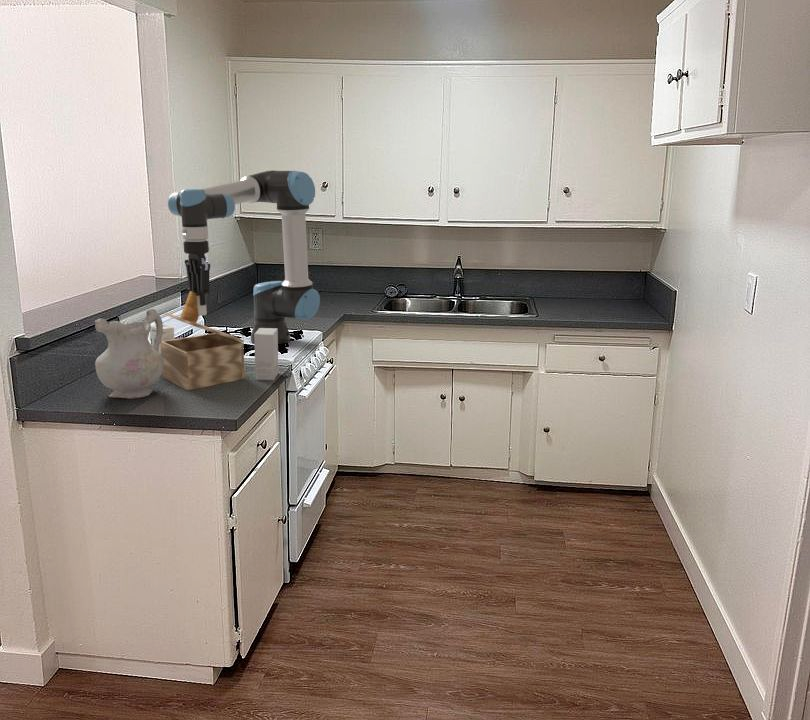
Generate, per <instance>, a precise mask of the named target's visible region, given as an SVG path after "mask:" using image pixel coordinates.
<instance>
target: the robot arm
mask: <svg viewBox="0 0 810 720" xmlns="http://www.w3.org/2000/svg"><path fill="white" fill-rule="evenodd" d="M315 197H316V187H315V182H314V181H313V179H312V177H311V176H310V175H309V174H308V173H307V172H304V171H299V170H265V171H262V172H258V173H257V172H256V173H253V174H250V175H245V176H244V177H242V178H241V179H240V180H237V181H232V182H228V183H224V184H218V185H214V186H211V187H205V188H184V189H182V190H181V191H180V192H173V193H172V194H170V196H169V197H168V200H167V207H168V211H169V212H170V213H171V214H172V215H174V216H178V217H181V224H182V225H181V226H182V228H181V229H182V230H181V234H182V238H183V240H184V241H183V243H182V244H183V252H184V254H188V259H185V260H184V265H185V268H186V277H187V283H188V289H189V292H190V291H192V292H194V293H197V294H196V296H197V310H198V316H199V317H202V316H206V315H208V314H207V311H208V309H207V295H208V294H210V270H211V263H207V262H206V261H207V260H206V255H205V254H208V253H209V251H210V249H209V248H210V246H209V241H208V239H209V227H208V220H214V219H226V218H229V217H231V216H233V214H234V213H235V209H236V208H235V207H236V205H239V204H242V203H248V204H255V203H271V204H276V210H277V212H279V213H280V214H281V225H282V226H281V230H282V231H281V232H282V244H283V245H282V248H283V263H284V280H271V281H264V282H259V283H257V284H255V285H254V286H253V294H252V297H253V317H254V322H253V323H254V324H253V327H252V331H251V335H250V342H251V343H252V344H254V345H255V343H254V334H255V333H256V331H257V330H258V329H259V328H277V329H278V344H279V345H282V344H281V343H284V344H286V342H287V343H289V342H290V341H291V334H290V331H289V328H288V326H287V323H286V318H291V319H297V320H309V319H312V318H313V317H314V316H315V315H316V314H317V312H318V309H319V307H320V303H321V298H320V297H321V296H320V293H319V291H318V290H316V289H314V287H313V286H314V282H313V281H312V280H311V279H309V266H308V263H309V262H308V260H309V259H308V243H307V242H308V241H307V225H306V224H307V222H306V218H307V217H306V214H307V212H308V211H309V210H310V205H311V204H312V203H314V201H315V199H314V198H315Z"/></svg>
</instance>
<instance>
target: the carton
mask: <svg viewBox="0 0 810 720" xmlns="http://www.w3.org/2000/svg"><path fill="white" fill-rule="evenodd" d="M160 347H161V355H162V357H163V360H164V370H163V373H162V378H163V379H165V380H167V381H169V382H171V383H173V384H174V385H177V386H178V387H179V388H182V389H184V390H186V391H192V390H196V389H201V388H206V387H211V386H216V385H221V384H226V383H231V382H236V381H240V380H241V381H242V380H246V373H245V371H246V370H245V354H244V353H245V352H244V351H245V350H244V342H240V341H237V340H234V339H231V338H228V337H225V336H222V335H219V334H216V333H213V332H211V333H207V334H201V335H195V336H194V335H193V336H186V337H182V338H174V340H167V341H161V342H160Z"/></svg>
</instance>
